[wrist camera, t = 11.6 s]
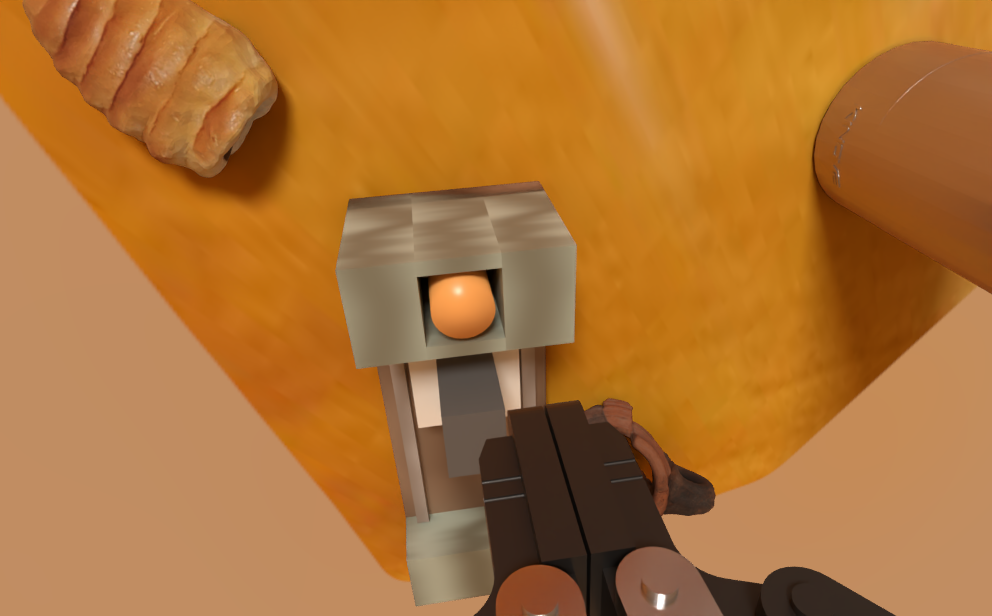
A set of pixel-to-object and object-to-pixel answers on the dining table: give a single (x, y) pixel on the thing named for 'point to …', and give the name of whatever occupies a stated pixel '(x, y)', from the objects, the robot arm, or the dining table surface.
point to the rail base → (451, 342)
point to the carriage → (466, 402)
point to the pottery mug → (658, 464)
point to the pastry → (160, 73)
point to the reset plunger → (461, 303)
